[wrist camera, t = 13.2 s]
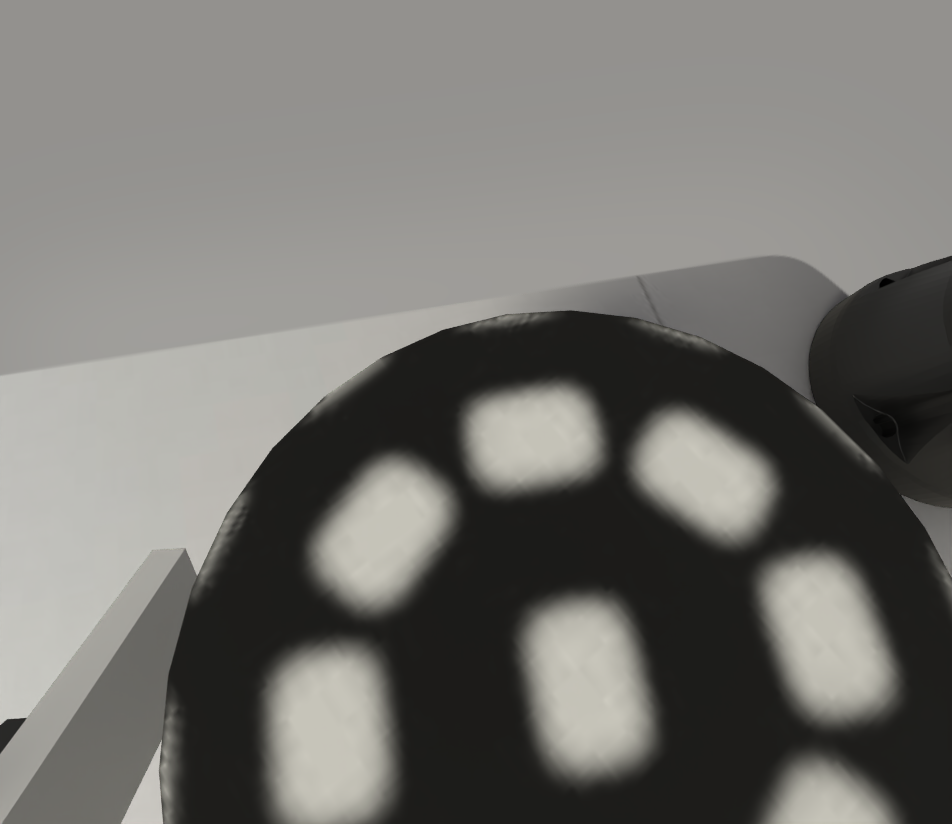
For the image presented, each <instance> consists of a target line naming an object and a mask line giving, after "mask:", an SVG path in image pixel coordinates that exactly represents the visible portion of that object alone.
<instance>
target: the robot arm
mask: <svg viewBox="0 0 952 824" xmlns="http://www.w3.org/2000/svg"><path fill="white" fill-rule="evenodd" d="M809 371H810V382H811V387H812V391H813V395H814V399H815V402H816V405H817V407H819V408H820V409H822V410H823V411H824V412H825V413H826V414H827V415H828V416H829V417H830V418H831V419H832V420H833V421H834V422H835V423H836V424H837V425H838V426H839V427H840V428H841V429H842V430H843V431H844V432H845V433H846V434H847V435H848V436H849V437H850V438H851V439H852V440H853V441H854V442H855V443H856V444H857V445H859V446H860V447H861V448H862V449H863V450H864V451H865V452H866V453H867V454H868V455H869V456H870V457H871V458H872V459H873V460H874V461H875V462H876V463H877V464H878V466H879V467H880V468H881V470H882V471H883V472H884V474H885V475H886V476H887V478H888V479H889V480H890V482H891V483H892V485H893V486H894V487H895V489H896V490H897V491H898V493H900V494H902V495H904V496H906V497H909V498H912V499H914V500H917V501H920V502H923V503H926V504H930V505H934V506H940V507H947V508H952V256H949V257H946V258H943V259H940V260H936V261H933V262H929V263H926V264H923V265H920V266H918V267H915V268H911V269H906V270H902V271H899V272H895V273H892V274H889V275H886V276H884V277H881V278H879V279H877V280H875V281H873V282H871V283H869V284H867V285H866V286H864V287H863V288H862V289H860V290H858V291H857V292H855V293H854V294H852V295H851V296H849V297H848V298H846V299H845V300H843V301H842V302H840V303H839V304H838V305H837V306H835V307H834V308H833V309H832V310H831V311H830V312H829V313H828V314H827V316H826V317H825V318H824V320H823V321H822V322H821V324H820V326H819V328H818V330H817V332H816V334H815V337H814V340H813V343H812V347H811V352H810V362H809ZM196 578H197V575H196V573H195V570H194V568H193V566H192V563H191V561H190V558H189V556H188V554H187V551H186V549H185V548H181V549H164V550H152V552H151V553H150V554H149V556H148V557H147V558H146V560H145V561H144V562H143V564H142V565H141V566H140V568H139V569H138V570H137V572H136V573H135V574H134V576H133V577H132V578H131V580H130V581H129V582H128V584H127V585H126V586H125V588H124V589H123V590H122V592H121V593H120V594H119V596H118V597H117V598H116V600H115V601H114V602H113V604H112V605H111V606H110V608H109V609H108V610H107V612H106V613H105V614H104V616H103V617H102V618H101V620H100V621H99V622H98V624H97V625H96V626H95V628H94V629H93V630H92V632H91V633H90V635H89V636H88V637H87V639H86V640H85V641H84V643H83V644H82V645H81V647H80V648H79V649H78V651H77V652H76V653H75V655H74V656H73V657H72V659H71V660H70V661H69V663H68V664H67V665H66V667H65V668H64V669H63V671H62V672H61V673H60V675H59V676H58V677H57V679H56V680H55V681H54V683H53V684H52V685H51V687H50V688H49V689H48V691H47V692H46V693H45V695H44V696H43V697H42V699H41V700H40V701H39V703H38V704H37V705H36V707H35V708H34V709H33V711H32V712H31V713H30V715H29V716H28V718H20V719H7V720H6V721H5V722H4V723H2V724H1V725H0V824H121V822H122V820H123V818H124V816H125V814H126V812H127V810H128V808H129V805H130V803H131V801H132V799H133V797H134V795H135V793H136V791H137V789H138V787H139V785H140V783H141V781H142V779H143V777H144V775H145V773H146V771H147V769H148V767H149V764H150V762H151V760H152V758H153V756H154V754H155V752H156V750H157V748H158V746H159V744H160V742H161V740H162V734H163V724H164V713H165V703H166V692H167V681H168V674H169V670H170V666H171V663H172V659H173V655H174V652H175V648H176V644H177V641H178V637H179V633H180V630H181V626H182V622H183V619H184V615H185V611H186V608H187V604H188V600H189V597H190V593H191V589H192V587H193V585H194V583H195V580H196Z"/></svg>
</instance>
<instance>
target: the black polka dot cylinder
mask: <svg viewBox="0 0 952 824" xmlns="http://www.w3.org/2000/svg"><path fill="white" fill-rule="evenodd" d="M159 777H160V789H161V802H162V814H163V824H952V578H951V576H950V574H949V573H948V571H947V569H946V567H945V565H944V563H943V561H942V559H941V557H940V555H939V554H938V552H937V550H936V548H935V546H934V544H933V542H932V540H931V538H930V537H929V535H928V533H927V531H926V529H925V527H924V526H923V525H922V523H921V522H920V521H919V519H918V518H917V517H916V515H915V514H914V513H913V511H912V510H911V509H910V507H909V506H908V505H907V503H906V502H905V501H904V499H903V498H902V497H901V495H900V494H899V493H898V491H897V490H896V489H895V487H894V486H893V485H892V483H891V482H890V480H889V479H888V478H887V476H886V475H885V474H884V472H883V471H882V470H881V468H880V467H879V466H878V464H877V463H876V462H875V461H874V460H873V459H872V458H871V457H870V456H869V455H868V454H867V453H866V452H865V451H864V450H863V449H862V448H861V447H860V446H859V445H857V444H856V443H855V442H854V441H853V440H852V439H851V438H850V437H849V436H848V435H847V434H846V433H845V432H844V431H843V430H842V429H841V428H840V427H839V426H838V425H837V424H836V423H835V422H834V421H833V420H832V419H831V418H830V417H829V416H828V415H827V414H826V413H825V412H824V411H823V410H822V409H820V408H819V407H817V406H816V405H815V404H813V403H812V402H810V401H809V400H808V399H806V398H805V397H803V396H802V395H801V394H799V393H798V392H796V391H795V390H794V389H792V388H791V387H789V386H788V385H786V384H785V383H784V382H782V381H781V380H779V379H778V378H777V377H775V376H774V375H772V374H771V373H770V372H768V371H767V370H765V369H764V368H762V367H760V366H758V365H756V364H754V363H752V362H750V361H748V360H746V359H744V358H742V357H740V356H738V355H736V354H734V353H732V352H730V351H728V350H726V349H724V348H722V347H720V346H717V345H715V344H713V343H711V342H709V341H707V340H705V339H703V338H701V337H698V336H695V335H692V334H688V333H685V332H681V331H678V330H675V329H671V328H668V327H665V326H661V325H658V324H654V323H651V322H648V321H644V320H641V319H638V318H631V317H623V316H614V315H605V314H597V313H588V312H580V311H555V312H538V313H522V314H506V315H502V316H498V317H494V318H490V319H486V320H482V321H477V322H473V323H469V324H465V325H461V326H457V327H453V328H449V329H445V330H442V331H439V332H437V333H435V334H433V335H431V336H428V337H426V338H424V339H422V340H419V341H417V342H415V343H413V344H410V345H408V346H406V347H404V348H402V349H399V350H397V351H395V352H393V353H390V354H388V355H386V356H384V357H382V358H380V359H379V360H377V361H376V362H374V363H373V364H371V365H370V366H368V367H367V368H366V369H364V370H363V371H361V372H360V373H358V374H357V375H355V376H354V377H352V378H351V379H350V380H348V381H347V382H345V383H344V384H342V385H341V386H339V387H338V388H337V389H335V390H334V391H332V392H331V393H329V394H328V395H326V396H325V397H324V398H323V399H322V400H321V401H320V402H319V403H318V404H317V405H316V406H315V407H314V408H313V409H312V410H311V411H310V412H309V413H308V414H307V415H306V416H305V417H304V418H303V419H302V420H301V421H300V422H299V423H298V424H296V425H295V426H294V427H293V428H292V429H291V430H290V431H289V432H288V433H287V434H286V435H285V436H284V437H283V438H282V439H281V440H280V441H279V442H278V443H277V444H276V445H275V446H274V447H273V448H272V450H271V451H270V452H269V454H268V455H267V457H266V458H265V460H264V461H263V462H262V464H261V465H260V467H259V468H258V470H257V471H256V472H255V474H254V475H253V477H252V478H251V480H250V481H249V482H248V484H247V485H246V487H245V488H244V490H243V491H242V492H241V494H240V495H239V497H238V498H237V499H236V501H235V502H234V504H233V505H232V507H231V508H230V509H229V511H228V512H227V514H226V516H225V519H224V521H223V523H222V525H221V527H220V529H219V531H218V533H217V536H216V538H215V540H214V542H213V544H212V546H211V548H210V551H209V553H208V555H207V557H206V559H205V561H204V563H203V565H202V568H201V570H200V572H199V574H198V576H197V578H196V580H195V583H194V585H193V587H192V589H191V593H190V597H189V600H188V604H187V608H186V611H185V615H184V619H183V622H182V626H181V630H180V633H179V637H178V641H177V644H176V648H175V652H174V655H173V659H172V663H171V666H170V670H169V674H168V681H167V692H166V703H165V713H164V724H163V734H162V745H161V756H160V766H159Z"/></svg>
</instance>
